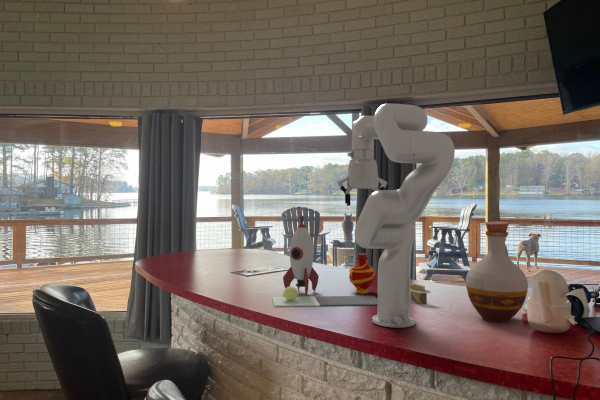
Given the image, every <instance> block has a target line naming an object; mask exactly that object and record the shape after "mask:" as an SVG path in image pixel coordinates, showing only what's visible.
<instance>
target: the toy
mask: <svg viewBox="0 0 600 400" xmlns="http://www.w3.org/2000/svg"><path fill="white" fill-rule="evenodd" d="M299 220H300V223H299V224H298V226H297V228H296V230H295V231H294V234H293V236H292V239H291V241H290V248H289V261H290V262H289V264H290V267H289V268H288V270H287V271H286V272H285V273H284V275H283V277H282V281H283V285H284V286H283V287H284V290H285V289H286V288H287V287H290V286H291V283H292V282H293V281H294V280H296V281H297V282H296V284H295V287H297V291H299V290H300V288H304V293H305V294H304V295H305V297H308V293H309V283H310V282H311V290H312V291H313V292H316V289H317V286H318V283H319V274H318V273H317V271H316V270H315V269H314V266H313V265H314V246H313V245H314V241H312V236H311V234H310V233H309V230H308V228H307V226H306V224H304V222H303V221H304V220H305V216H304V215H300V216H299Z"/></svg>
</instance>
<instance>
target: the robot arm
mask: <svg viewBox="0 0 600 400" xmlns="http://www.w3.org/2000/svg"><path fill="white" fill-rule="evenodd" d="M428 120H429V119H428V115H427V112H426V111H425V110H424V109H423V108H422V107H420V106H417V105H413V104H403V103H401V104H400V103H383V104H381V105H380V106H379V107H378V108H377V109H376V110H375V112H374V115H362V116H359V118H358V119H355V120H354V121H353V122H352V124H351V151H350V152H347V157H349V158H351V159H350V160H349V163H348V169H347V176H345V177H343V178H341V179H340V180H337V181H336V182H337V184H338V185H337V186H338V187H339V189H340V190H341V191H342V192H343V194H344V204H346V206H347V207H348V206H351V194H350V192H351V191H352V190H353V189H355V190H372V191H373V192H371V194H370V195H369V196H368V197H367V199H366V201H365V203H364V206H363V207H362V210H361V213H360V215H359V217H358V219H357V222H356V225H355V229H354V239H355V242H356V244H357V245H358V246H359V247H360V248H363V249H368V250H369V249H370V250H371V249H372V250H373V249H375V250H376V249H379V250H380V249H384V251H383V252H382V253H381V255H380V257H379V260H378V263H377V299H378V305H376V307H377V309H376V310H377V314H375V315H373V316H372V317H371V319H372V320H371V322H372V323H373V324H375V325H377V326H380V327H387V328H397V329H398V328H399V329H400V328H411V327H413V326H414V325H416V319H415V318H414V317H413V316H411V291H410V284H411V271H412V270H411V269H412V268H411V266H412V265H411V263H412V250H413V245H414V244H413V243H414V239H415V225H414V223H417V221H418V220H419V219H420V218H421V216H422V215H423V213H424V211H425V209H426V208H427V207H428V204H429V203H430V202H431V199H432V197H433V195H434V194H435V192H436V190H437V189H438V188H439V187H440V186H441V184H442V183H443V182H444V181H445V179H447V176H448V175H449V173H450V171H451V169H452V167H453V164H454V160H455V152H456V151H455V144H454V142H453V139H452V138H451V137H449V136H448V135H446V134H444V133H442V132H437V131H431V130H430V131H429V130H428V131H427V130H425V128H426V127H427V125H428V122H429V121H428ZM374 140H379V142H380V144H381V147H382V149H383V150H384V153H385V155H386V156H387V158H388V159H389V160H390V161H391V162H394V163H399V164H401V163H402V164H421V165H419V166H418V167H416V168H415V169H413V170H412V171H411V172H410V173H408V175H407V176H406V177H405V178H404V180H403V182H402V184H401V185H400V187H399V189H393V190H392V189H391V190H390V189H387V190H386V189H385V188H386V187H387V185H388V181H386V180H384V179H382V178H381V177H379V173H378V172H379V171H378V163H377V160H376V159H374V156H375V155H374V154H375V153H374V149H375V146H374V145H375V144H374V143H375V142H374ZM345 182H347V183H346V184H347V187H345V186H344V183H345ZM379 183H380V184H381V186H380V187H379ZM378 187H379V188H378Z"/></svg>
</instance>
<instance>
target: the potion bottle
mask: <svg viewBox="0 0 600 400" xmlns="http://www.w3.org/2000/svg"><path fill="white" fill-rule="evenodd" d="M356 255H357V256H356V259H357V261H358V262H357V263H356V264H355V265H352V266H351V268H350V269H349V271H348V272H349V277H348V279H349V283H351V285H353V286H354V287H355V288H356V289H355V291H354V292H355V293H358V294H368V293H369V291H368V289H369V288H370V287H371V286H372V285H373V283H374V282H375V278H376V271H375V269H374V267H373V266H371V265H369V264H368V262H367V261H368V259H369V257H368V253H364V252H361V253H360V252H359V253H356Z"/></svg>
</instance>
